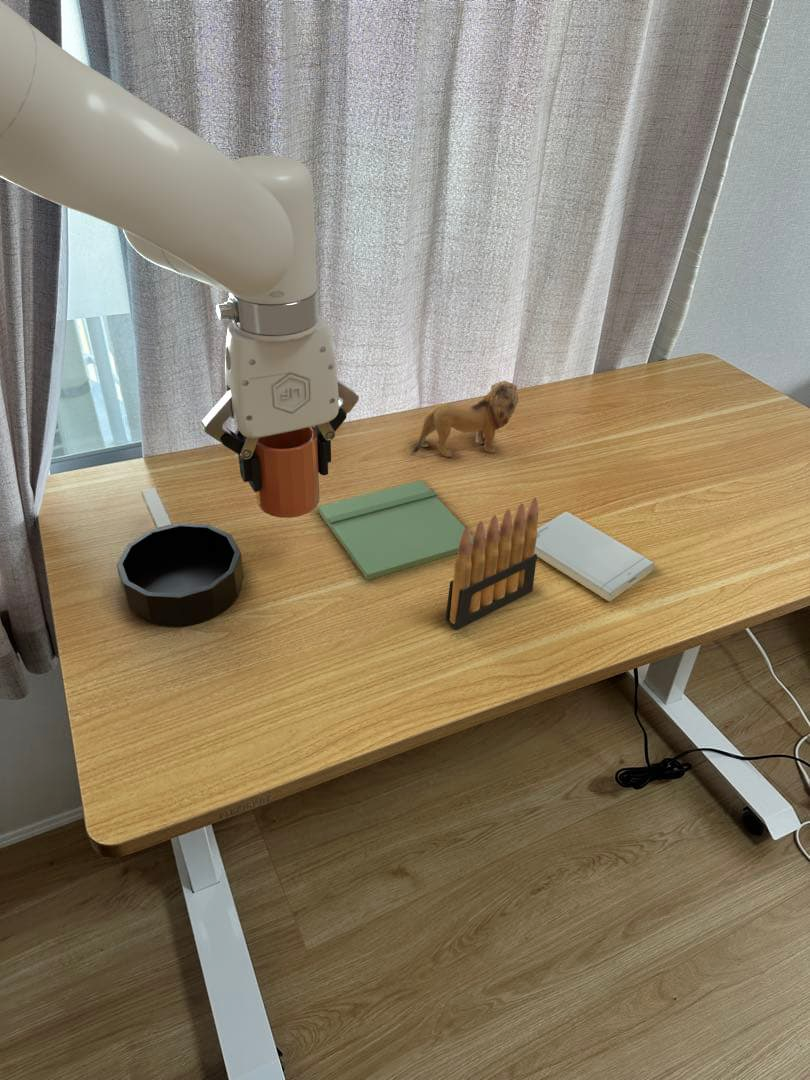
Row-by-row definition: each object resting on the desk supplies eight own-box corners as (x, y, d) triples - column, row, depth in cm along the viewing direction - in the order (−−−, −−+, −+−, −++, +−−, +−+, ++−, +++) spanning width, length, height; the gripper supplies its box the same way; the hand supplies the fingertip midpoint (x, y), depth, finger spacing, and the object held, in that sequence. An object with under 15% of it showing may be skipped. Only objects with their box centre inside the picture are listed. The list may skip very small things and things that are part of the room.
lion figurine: (502, 431, 114) (510, 372, 108) (519, 449, 110) (528, 390, 104) (405, 446, 109) (407, 386, 104) (419, 466, 106) (422, 405, 100)
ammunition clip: (456, 630, 81) (465, 536, 74) (444, 620, 82) (452, 526, 75) (532, 591, 87) (548, 499, 79) (520, 581, 88) (535, 490, 80)
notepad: (367, 580, 87) (367, 572, 86) (318, 511, 97) (317, 504, 96) (478, 547, 92) (478, 539, 92) (421, 485, 102) (421, 478, 101)
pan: (139, 641, 79) (132, 610, 76) (100, 529, 93) (93, 500, 90) (257, 606, 83) (254, 576, 81) (203, 504, 97) (199, 476, 95)
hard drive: (521, 536, 92) (610, 591, 84) (567, 509, 96) (656, 560, 89) (520, 547, 93) (608, 603, 85) (565, 521, 97) (652, 571, 90)
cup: (269, 524, 81) (263, 456, 77) (249, 491, 86) (242, 425, 81) (329, 508, 84) (327, 442, 79) (306, 477, 88) (302, 412, 83)
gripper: (191, 341, 66) (215, 516, 77) (380, 310, 73) (378, 476, 84) (168, 308, 72) (194, 477, 82) (347, 282, 78) (349, 442, 89)
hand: (287, 475), depth 83 cm, fingers closed on cup, 6 cm apart
